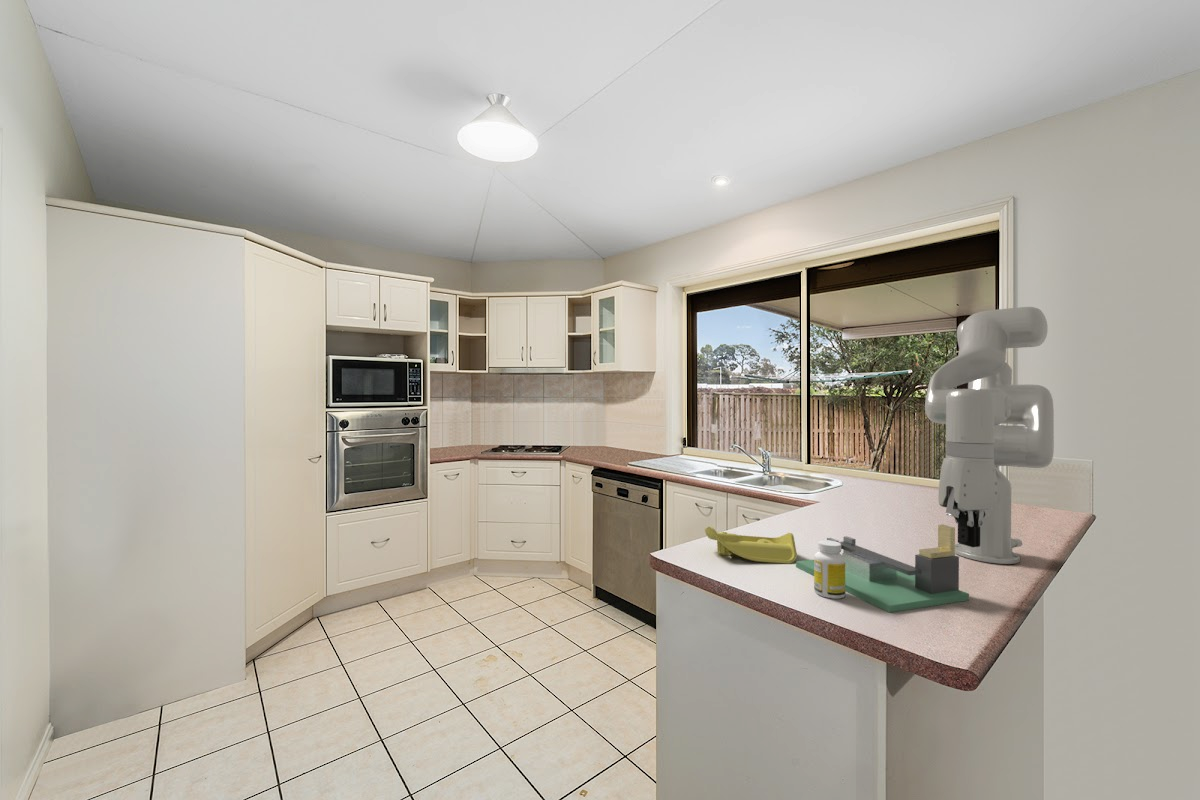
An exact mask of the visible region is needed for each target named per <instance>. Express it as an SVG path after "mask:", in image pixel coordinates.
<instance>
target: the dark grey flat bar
mask: <svg viewBox="0 0 1200 800" xmlns="http://www.w3.org/2000/svg"><path fill="white" fill-rule="evenodd" d="M839 543H841V550H842V551H843V550H846V551H849V552H851V553H854V554H856V555H859V556H861V557H864V558H866V559H869V560H871V561H874V562H876V563H879V564H881V565H884V566H886V567H889V568H891V569H894V570H896V571H899V572H901V573H904V574H906V575H917V574H921V569H918V568H915V566H913V565H909V564H907V563H905V562H901V561H899V560H896V559H894V558H892V557H888V556H886V555H883V554H880V553H877V552H875V551H872V550H871V549H867V548H864V547H862V546H859V545H857V544H855V545H854V544H851V543H849V542H847V541H839Z"/></svg>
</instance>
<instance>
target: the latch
mask: <svg viewBox="0 0 1200 800" xmlns="http://www.w3.org/2000/svg"><path fill="white" fill-rule="evenodd" d="M955 545H956V527H955V526H954V527H953V526H950V525H945V524H938V525H937V547H932V548H931V547H929V548H923V549H918V553H919V555H922V556H925V557H928V558H931V559H933V558H941V557H950V556H956V553H955Z"/></svg>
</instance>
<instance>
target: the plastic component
mask: <svg viewBox="0 0 1200 800" xmlns="http://www.w3.org/2000/svg"><path fill="white" fill-rule="evenodd" d="M704 533H705V535H706V536H707V538H708V539H709V540H714V541H716V544H717V545H716V546H717V554H718V555H721V556H723V555H726V556H731V555H733V554H735V555H736V556H738V557H741V558H743V559H745V560H748V561H753V562H756V563H757V562H759V563H770V564H771V563H772V564H785V565H787V564H788V565H789V564H792V563H794V562H795V560H797V556H798V554H797V547H796V543H795V537H794V534H793V533H792V532H787V533H785V534H783V535H781V536H779V537H765V536H755V535H754V536H750V535H740V534H739V535H738V534H736V533H729V532H724V531H722V532H719V531H718V532H717V531H716V529H715V528H714V527H713V526H707V527H706V528H705V529H704Z"/></svg>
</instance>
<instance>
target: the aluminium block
mask: <svg viewBox="0 0 1200 800" xmlns="http://www.w3.org/2000/svg"><path fill="white" fill-rule="evenodd" d="M841 555H842V556H844V558H845V571H847V572H849V573H851V574H853V575H856V576H858V577H860V578H863V579H865V580H867V581H877V580H885V579H893V578H897V571H896V570H894V569H891V568H889V567H886V566H884V565H881V564H879V563H876V562H874V561H871V560H869V559H866V558H864V557H861V556H859V555H856V554H854V553H851V552H848V553H843V552H841Z"/></svg>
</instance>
